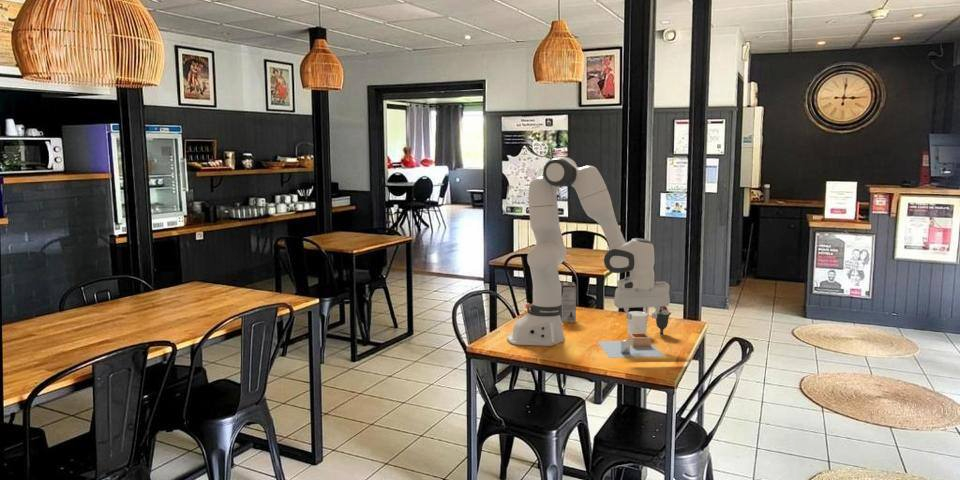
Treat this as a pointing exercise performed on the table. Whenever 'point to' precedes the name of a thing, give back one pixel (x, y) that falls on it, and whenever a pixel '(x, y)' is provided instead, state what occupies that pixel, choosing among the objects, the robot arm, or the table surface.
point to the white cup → (637, 322)
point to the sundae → (662, 318)
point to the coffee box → (568, 301)
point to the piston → (625, 346)
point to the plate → (615, 350)
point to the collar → (639, 339)
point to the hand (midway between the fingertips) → (641, 318)
